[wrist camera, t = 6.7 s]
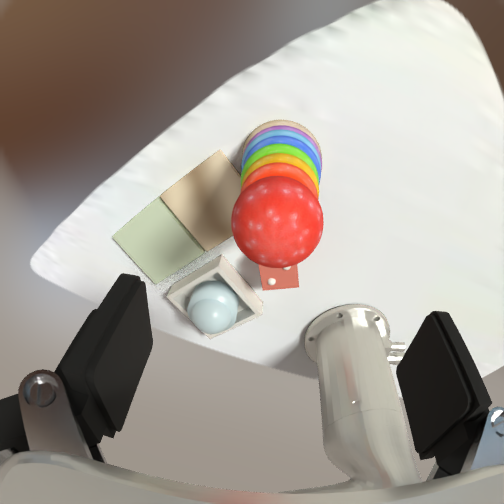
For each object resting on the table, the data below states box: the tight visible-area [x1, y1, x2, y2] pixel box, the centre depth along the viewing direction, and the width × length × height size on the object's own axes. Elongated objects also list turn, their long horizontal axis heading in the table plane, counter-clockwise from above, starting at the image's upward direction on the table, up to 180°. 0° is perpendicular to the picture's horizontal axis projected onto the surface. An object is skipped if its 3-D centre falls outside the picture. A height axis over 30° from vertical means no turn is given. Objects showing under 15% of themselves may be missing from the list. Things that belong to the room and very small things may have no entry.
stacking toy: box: [231, 120, 323, 268], centre depth 23 cm, size 8×8×19 cm
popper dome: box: [187, 280, 239, 334], centre depth 37 cm, size 6×6×5 cm
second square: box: [112, 197, 205, 284], centre depth 37 cm, size 8×8×1 cm
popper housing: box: [167, 254, 263, 339], centre depth 40 cm, size 9×9×3 cm
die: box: [259, 264, 299, 290], centre depth 35 cm, size 4×4×4 cm
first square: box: [160, 150, 241, 251], centre depth 34 cm, size 8×8×1 cm
